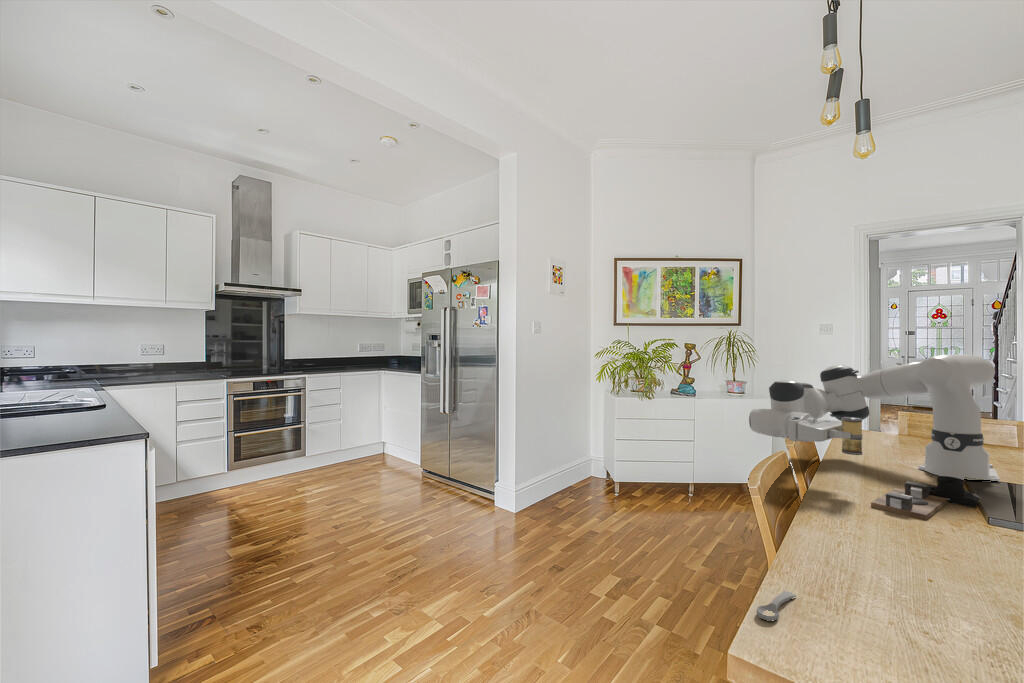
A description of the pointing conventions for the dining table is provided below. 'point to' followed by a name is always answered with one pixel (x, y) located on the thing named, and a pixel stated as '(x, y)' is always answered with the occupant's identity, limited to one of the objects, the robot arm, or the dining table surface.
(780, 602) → the grey bottle opener
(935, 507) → the board
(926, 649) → the dining table surface
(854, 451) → the yellow and grey cylinder
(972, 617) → the dining table surface
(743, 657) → the dining table surface
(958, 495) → the film camera
